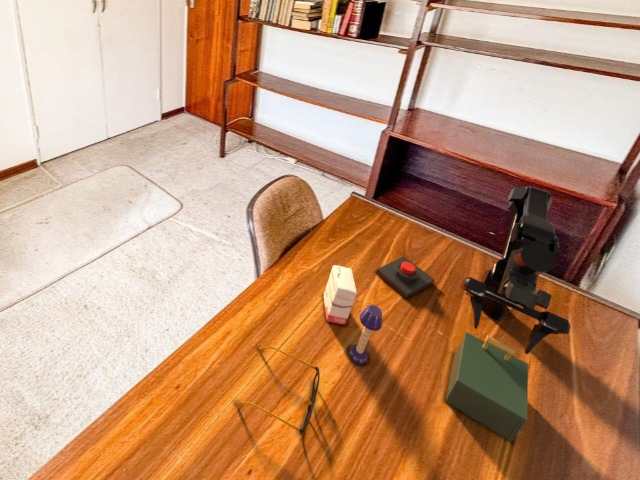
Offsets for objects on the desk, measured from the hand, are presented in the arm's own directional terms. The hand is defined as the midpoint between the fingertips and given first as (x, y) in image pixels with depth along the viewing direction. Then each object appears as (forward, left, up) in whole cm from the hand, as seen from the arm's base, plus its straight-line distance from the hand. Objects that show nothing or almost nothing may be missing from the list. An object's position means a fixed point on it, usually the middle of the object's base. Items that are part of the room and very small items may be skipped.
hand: (500, 340), depth 88 cm
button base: (-7, -26, -10) cm, 29 cm away
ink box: (+20, -27, -10) cm, 35 cm away
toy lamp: (+25, -15, -10) cm, 31 cm away
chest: (+7, +3, -10) cm, 13 cm away
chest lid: (+6, +3, -3) cm, 8 cm away
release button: (-7, -26, -7) cm, 28 cm away
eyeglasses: (+47, -17, -10) cm, 51 cm away
